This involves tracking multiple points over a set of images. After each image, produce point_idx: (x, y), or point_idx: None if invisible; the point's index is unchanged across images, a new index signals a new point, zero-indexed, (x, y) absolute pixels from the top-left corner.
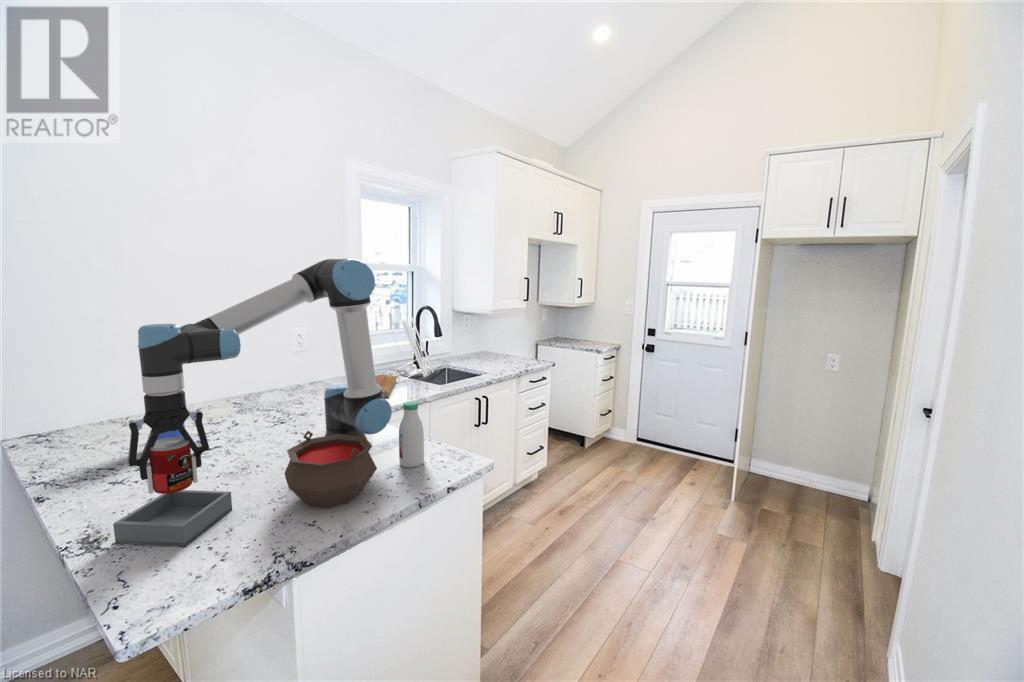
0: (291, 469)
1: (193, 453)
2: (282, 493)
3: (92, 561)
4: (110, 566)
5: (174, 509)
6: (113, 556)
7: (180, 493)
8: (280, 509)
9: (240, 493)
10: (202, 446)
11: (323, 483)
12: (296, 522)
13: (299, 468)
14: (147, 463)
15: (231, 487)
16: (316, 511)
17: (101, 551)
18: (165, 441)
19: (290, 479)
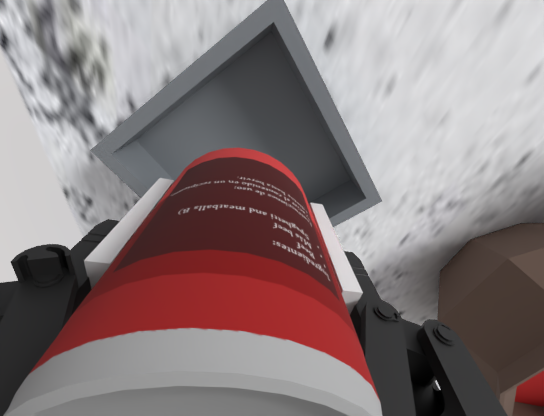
0: (498, 331)
1: (358, 298)
2: (473, 187)
3: (86, 174)
4: (120, 218)
5: (268, 67)
6: (123, 185)
7: (295, 63)
8: (408, 248)
9: (437, 93)
10: (411, 371)
11: None
12: (385, 299)
13: (490, 373)
14: (97, 276)
15: (464, 9)
16: (428, 293)
17: (97, 142)
18: (191, 397)
19: (459, 331)
